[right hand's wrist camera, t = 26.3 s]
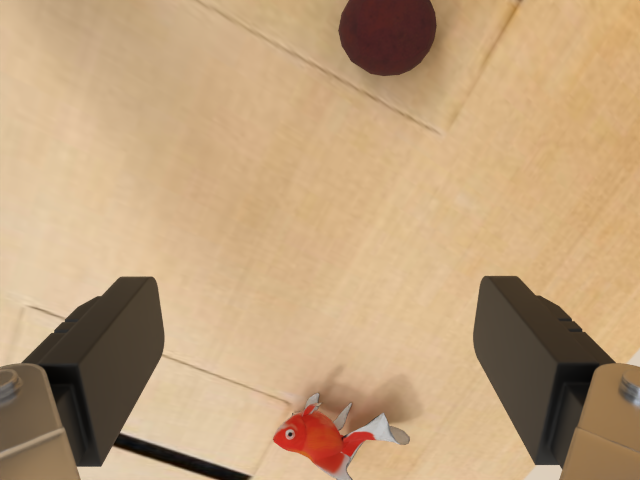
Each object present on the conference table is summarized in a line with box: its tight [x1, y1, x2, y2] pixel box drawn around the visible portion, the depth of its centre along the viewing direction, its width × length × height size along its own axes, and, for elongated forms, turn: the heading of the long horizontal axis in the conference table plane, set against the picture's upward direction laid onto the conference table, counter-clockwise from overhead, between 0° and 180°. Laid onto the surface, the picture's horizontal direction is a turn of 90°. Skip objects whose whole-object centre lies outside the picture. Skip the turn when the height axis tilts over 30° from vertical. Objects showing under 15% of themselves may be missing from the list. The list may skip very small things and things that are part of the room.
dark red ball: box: [338, 0, 436, 76], centre depth 36 cm, size 7×8×7 cm
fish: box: [273, 393, 410, 480], centre depth 51 cm, size 11×16×10 cm
